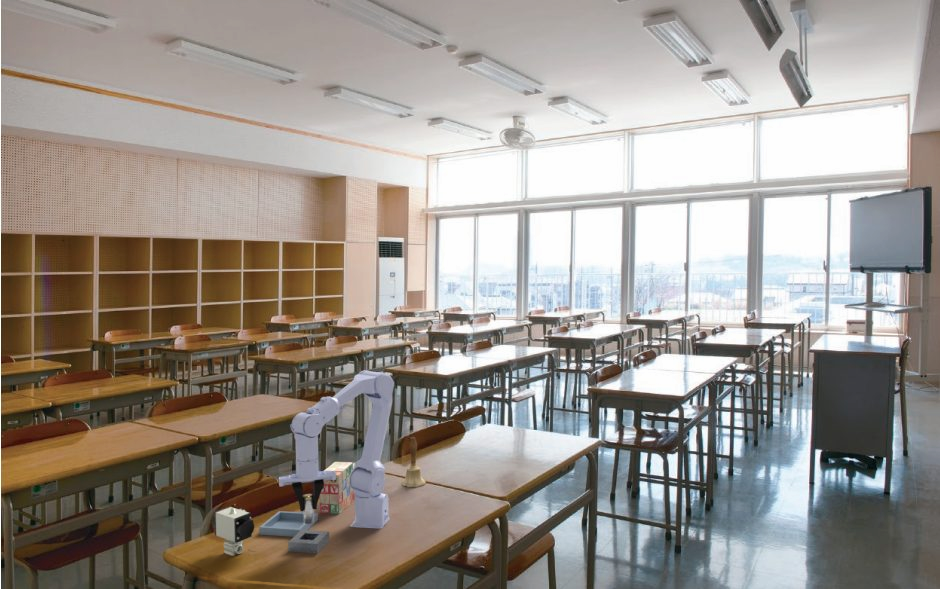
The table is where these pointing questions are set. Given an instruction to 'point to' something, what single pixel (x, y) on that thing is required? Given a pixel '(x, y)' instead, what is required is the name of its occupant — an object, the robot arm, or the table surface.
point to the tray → (285, 524)
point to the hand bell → (413, 469)
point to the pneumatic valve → (233, 528)
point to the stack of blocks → (337, 489)
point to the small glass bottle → (308, 508)
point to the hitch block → (308, 541)
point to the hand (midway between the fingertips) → (308, 509)
